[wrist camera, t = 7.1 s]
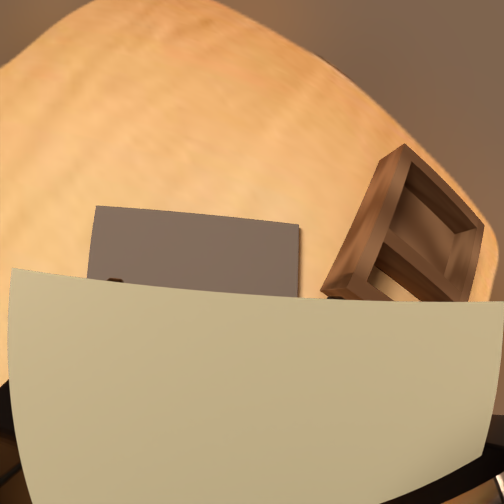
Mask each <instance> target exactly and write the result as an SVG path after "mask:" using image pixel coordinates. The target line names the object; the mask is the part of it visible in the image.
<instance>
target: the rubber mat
mask: <svg viewBox="0 0 504 504" xmlns="http://www.w3.org/2000/svg"><path fill="white" fill-rule="evenodd" d="M298 248H299V225H298V224H290V223H281V222H272V221H263V220H254V219H245V218H235V217H225V216H215V215H205V214H195V213H184V212H173V211H161V210H149V209H136V208H123V207H110V206H96V210H95V216H94V223H93V230H92V237H91V244H90V253H89V262H88V272H87V279H95V280H103V281H106V280H107V279H109V278H119V279H122V280H123V281H124V283H129V284H138V285H148V286H157V287H167V288H178V289H188V290H199V291H211V292H223V293H236V294H250V295H264V296H280V297H297V289H298Z"/></svg>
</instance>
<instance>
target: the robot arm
mask: <svg viewBox="0 0 504 504" xmlns="http://www.w3.org/2000/svg"><path fill="white" fill-rule="evenodd" d="M106 281H112V282H120V283H124V281H123V280H122V279H119V278H109V279H107V280H106ZM327 299H338V300H345V299H344V298H343V297H341V296H329V297H328V298H327ZM0 504H32V500H31V497H30V494H29V491H28V487H27V484H26V480H25V476H24V472H23V468H22V464H21V459H20V455H19V450H18V445H17V440H16V434H15V428H14V421H13V414H12V406H11V397H10V386H9V379H8V380H7V381H6V382H5V383H4V384H3V385H2V386H1V387H0ZM380 504H504V415H493V414H492V416H491V421H490V425H489V429H488V434H487V437H486V441H485V445H484V448H483V452H482V455H481V456H480V457H478V458H476V459H475V460H473V461H471V462H470V463H468V464H466V465H464V466H463V467H461V468H459V469H457V470H455V471H453V472H451V473H450V474H448V475H446V476H444V477H442V478H440V479H438V480H436V481H433V482H431V483H429V484H427V485H425V486H423V487H420V488H418V489H416V490H414V491H411V492H409V493H406V494H404V495H402V496H399V497H396V498H394V499H391V500H389V501H386V502H383V503H380Z"/></svg>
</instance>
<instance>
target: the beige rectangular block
mask: <svg viewBox="0 0 504 504" xmlns="http://www.w3.org/2000/svg"><path fill="white" fill-rule="evenodd" d="M503 319H504V302H503V301H501V302H498V301H497V302H403V301H365V300H338V299H316V298H297V297H280V296H264V295H250V294H236V293H223V292H211V291H199V290H188V289H178V288H167V287H157V286H148V285H138V284H129V283H120V282H112V281H103V280H95V279H87V278H80V277H72V276H65V275H57V274H50V273H43V272H36V271H30V270H23V269H17V268H12V272H11V282H10V293H9V308H8V372H9V386H10V397H11V406H12V414H13V421H14V428H15V434H16V440H17V445H18V450H19V455H20V459H21V464H22V468H23V472H24V476H25V480H26V484H27V487H28V491H29V494H30V497H31V500H32V504H380V503H383V502H386V501H389V500H391V499H394V498H396V497H399V496H402V495H404V494H406V493H409V492H411V491H414V490H416V489H418V488H420V487H423V486H425V485H427V484H429V483H431V482H433V481H436V480H438V479H440V478H442V477H444V476H446V475H448V474H450V473H451V472H453V471H455V470H457V469H459V468H461V467H463V466H464V465H466V464H468V463H470V462H471V461H473V460H475V459H476V458H478V457H480V456H481V455H482V452H483V448H484V445H485V441H486V437H487V434H488V429H489V425H490V421H491V416H492V412H493V407H494V401H495V396H496V390H497V384H498V377H499V369H500V361H501V351H502V339H503V321H504V320H503Z"/></svg>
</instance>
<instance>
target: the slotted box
mask: <svg viewBox="0 0 504 504" xmlns="http://www.w3.org/2000/svg"><path fill="white" fill-rule="evenodd" d="M483 231H484V224H483V223H482V222H481V220H480V219H479V218H478V217H477V216H476V215H475V213H474V212H473V211H472V210H471V209H470V208H469V207H468V206H467V204H466V203H465V202H464V201H463V200H462V199H461V198H460V197H459V196H458V195H457V194H456V192H455V191H454V190H453V189H452V188H451V187H450V186H449V185H448V184H447V183H446V182H445V181H444V180H443V179H442V178H441V177H440V176H439V175H438V174H437V173H436V172H435V171H434V170H433V169H432V168H431V167H430V166H429V165H428V164H427V163H426V162H425V161H424V160H422V159H421V158H420V157H419V156H418V155H417V154H416V153H415V152H414V151H413V150H412V149H410V148H409V147H408V146H407V145H406V144H405V143H404V144H403V145H401V146H400V147H399V148H397V149H396V150H394V151H393V152H391V153H390V154H388V155H387V156H385V157H384V158H383V159H381V160H380V161H379V163H378V166H377V168H376V171H375V173H374V175H373V178H372V180H371V182H370V185H369V187H368V190H367V192H366V194H365V196H364V199H363V201H362V203H361V206H360V208H359V210H358V212H357V215H356V217H355V219H354V221H353V223H352V226H351V228H350V230H349V232H348V234H347V236H346V239H345V241H344V243H343V245H342V247H341V249H340V251H339V253H338V255H337V258H336V260H335V262H334V264H333V266H332V268H331V270H330V272H329V274H328V276H327V278H326V280H325V282H324V284H323V286H322V288H321V290H320V291H321V292H323V293H324V294H326V295H327V296H341V297H343V298H344V299H345V300H365V301H393V300H392V299H390V298H389V297H388V296H386V295H385V294H383V293H382V292H381V291H379V290H378V289H377V288H375V287H374V286H372V285H371V284H370V283H368V282H367V279H368V277H369V275H370V272H371V270H372V268H373V265H375V266H376V267H378V268H379V269H380V270H382V271H383V272H384V273H386V274H387V275H388V276H390V277H391V278H392V279H394V280H395V281H396V282H397V283H399V284H400V285H401V286H403V287H404V288H405V289H407V290H408V291H409V292H410V293H412V294H413V295H414V296H415V297H417V298H418V299H419V300H420V301H422V302H468V299H469V295H470V291H471V288H472V284H473V280H474V276H475V271H476V267H477V263H478V258H479V253H480V248H481V243H482V237H483Z"/></svg>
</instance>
